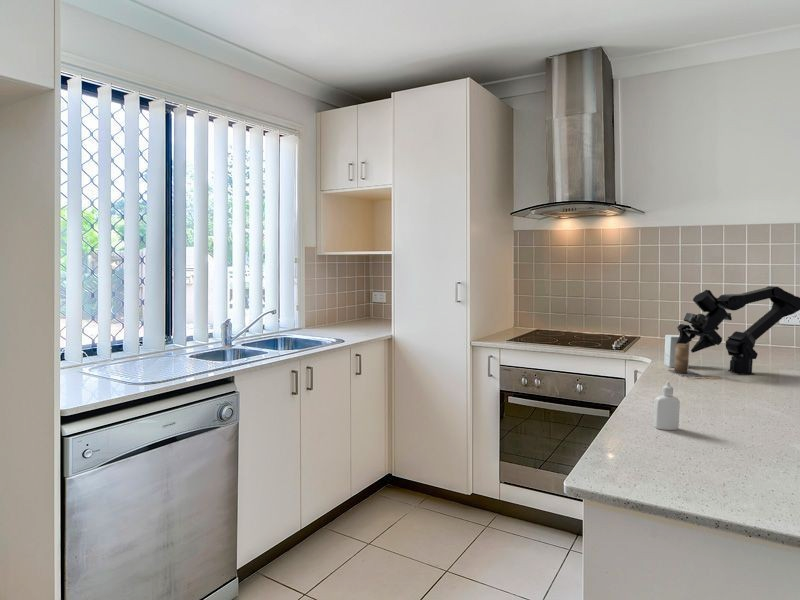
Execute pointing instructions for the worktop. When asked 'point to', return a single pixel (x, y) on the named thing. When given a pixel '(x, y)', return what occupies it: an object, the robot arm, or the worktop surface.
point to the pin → (681, 358)
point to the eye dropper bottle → (666, 410)
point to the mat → (688, 373)
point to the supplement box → (671, 350)
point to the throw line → (702, 377)
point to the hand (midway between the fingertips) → (683, 349)
